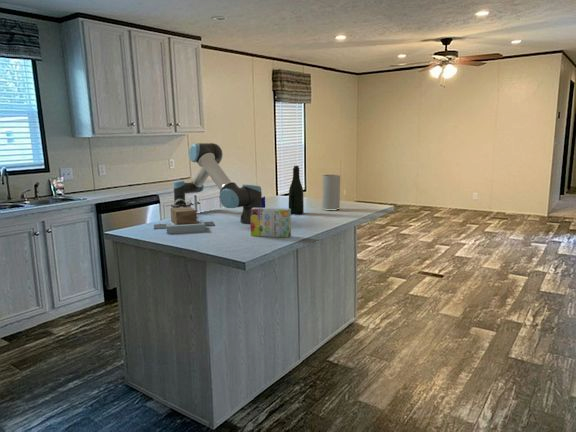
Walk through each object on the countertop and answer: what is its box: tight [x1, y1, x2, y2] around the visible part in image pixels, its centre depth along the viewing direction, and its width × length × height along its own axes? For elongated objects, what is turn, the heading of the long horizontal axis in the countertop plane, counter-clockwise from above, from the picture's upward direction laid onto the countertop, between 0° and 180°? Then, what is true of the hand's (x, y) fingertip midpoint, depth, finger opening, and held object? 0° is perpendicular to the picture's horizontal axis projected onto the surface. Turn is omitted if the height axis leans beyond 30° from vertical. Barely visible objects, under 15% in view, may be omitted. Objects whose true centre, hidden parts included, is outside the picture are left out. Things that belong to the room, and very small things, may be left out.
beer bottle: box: [288, 165, 305, 215], centre depth 301 cm, size 10×10×33 cm
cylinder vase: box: [321, 174, 341, 209], centre depth 318 cm, size 12×12×25 cm
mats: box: [153, 220, 216, 230], centre depth 263 cm, size 12×35×1 cm, turn 106°
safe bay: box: [165, 219, 206, 235], centre depth 250 cm, size 14×21×4 cm, turn 106°
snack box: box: [250, 207, 292, 239], centre depth 235 cm, size 21×6×15 cm, turn 77°
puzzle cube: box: [262, 195, 266, 208], centre depth 315 cm, size 10×10×10 cm
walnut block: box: [170, 206, 198, 225], centre depth 270 cm, size 16×12×9 cm
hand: (182, 210), depth 277 cm, fingers closed
